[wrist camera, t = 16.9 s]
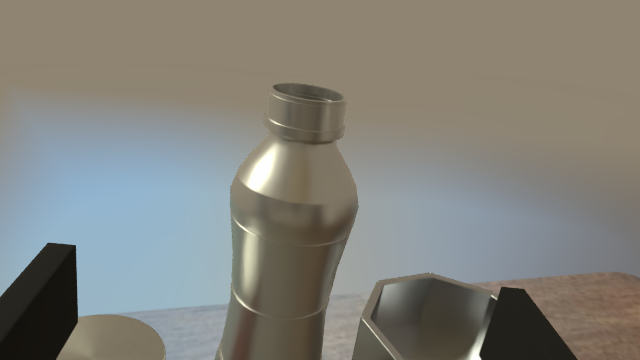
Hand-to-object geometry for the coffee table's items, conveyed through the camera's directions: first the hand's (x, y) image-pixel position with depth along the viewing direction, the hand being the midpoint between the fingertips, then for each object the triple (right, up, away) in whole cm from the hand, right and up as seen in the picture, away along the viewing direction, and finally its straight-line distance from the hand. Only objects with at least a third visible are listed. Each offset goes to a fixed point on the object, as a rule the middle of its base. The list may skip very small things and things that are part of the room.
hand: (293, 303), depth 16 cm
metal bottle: (-3, -11, +15) cm, 19 cm away
